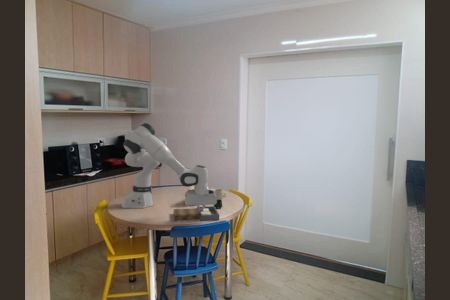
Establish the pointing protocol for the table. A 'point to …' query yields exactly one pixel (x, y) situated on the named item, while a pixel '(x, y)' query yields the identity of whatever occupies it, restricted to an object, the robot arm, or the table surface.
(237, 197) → the table surface
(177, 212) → the board
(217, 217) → the box
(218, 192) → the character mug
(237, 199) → the table surface
